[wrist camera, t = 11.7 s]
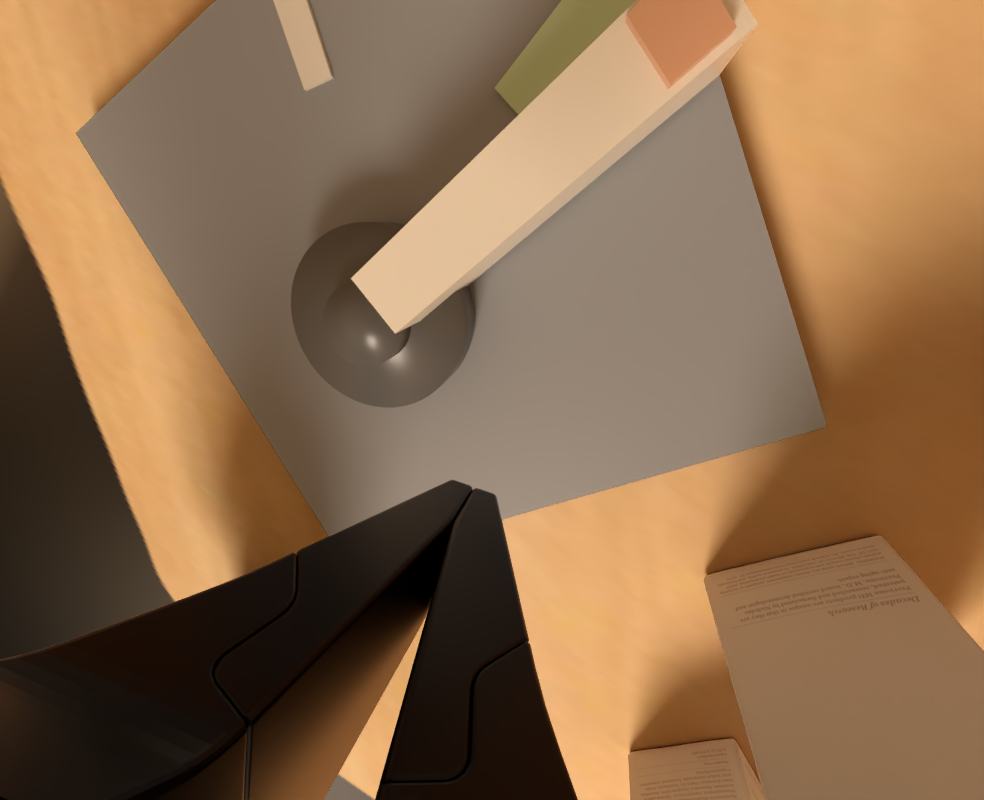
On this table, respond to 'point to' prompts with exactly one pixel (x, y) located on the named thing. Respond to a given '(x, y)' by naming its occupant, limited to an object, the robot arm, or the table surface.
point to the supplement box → (851, 677)
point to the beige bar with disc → (498, 204)
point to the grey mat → (498, 291)
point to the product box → (693, 773)
